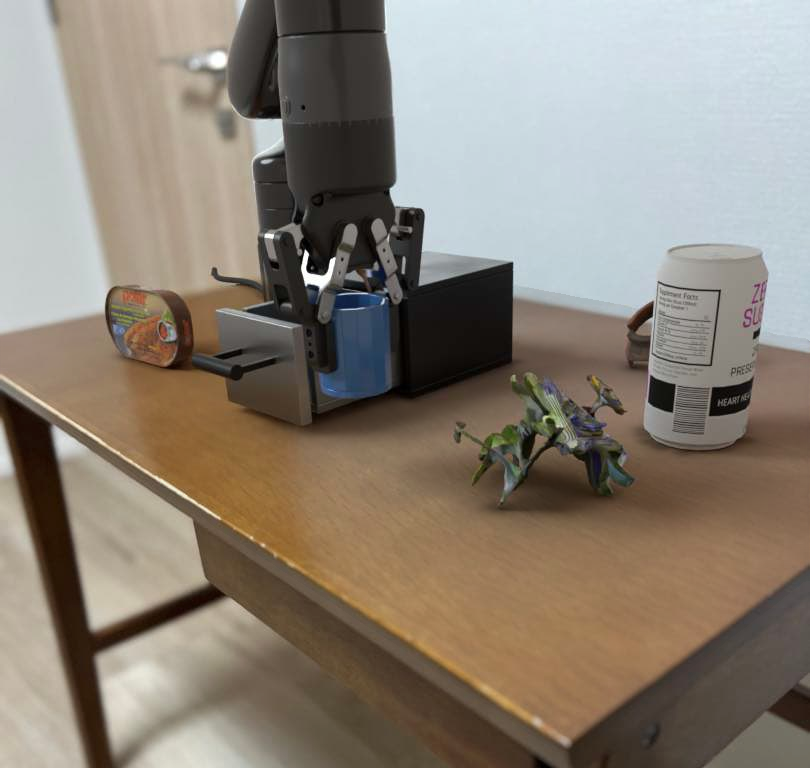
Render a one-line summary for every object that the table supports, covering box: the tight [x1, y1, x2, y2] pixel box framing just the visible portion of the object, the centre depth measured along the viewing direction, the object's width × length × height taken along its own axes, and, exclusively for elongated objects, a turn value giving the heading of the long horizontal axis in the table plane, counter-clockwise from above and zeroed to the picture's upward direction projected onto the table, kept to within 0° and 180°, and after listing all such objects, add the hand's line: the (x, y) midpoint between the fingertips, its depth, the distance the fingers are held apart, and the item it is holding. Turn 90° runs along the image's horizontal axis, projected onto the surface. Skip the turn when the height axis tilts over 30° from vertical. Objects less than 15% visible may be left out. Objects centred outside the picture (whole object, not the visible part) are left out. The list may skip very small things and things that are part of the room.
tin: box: [104, 284, 195, 368], centre depth 101 cm, size 15×3×8 cm, turn 47°
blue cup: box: [316, 293, 392, 399], centre depth 66 cm, size 6×6×6 cm
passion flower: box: [453, 371, 636, 510], centre depth 63 cm, size 11×11×12 cm
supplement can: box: [643, 242, 769, 451], centre depth 71 cm, size 8×8×15 cm
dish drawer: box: [191, 286, 406, 427], centre depth 82 cm, size 19×11×9 cm, turn 135°
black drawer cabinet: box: [320, 250, 514, 400], centre depth 92 cm, size 16×13×11 cm
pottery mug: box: [625, 300, 654, 368], centre depth 91 cm, size 12×10×8 cm
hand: (355, 360), depth 66 cm, fingers closed on blue cup, 5 cm apart
